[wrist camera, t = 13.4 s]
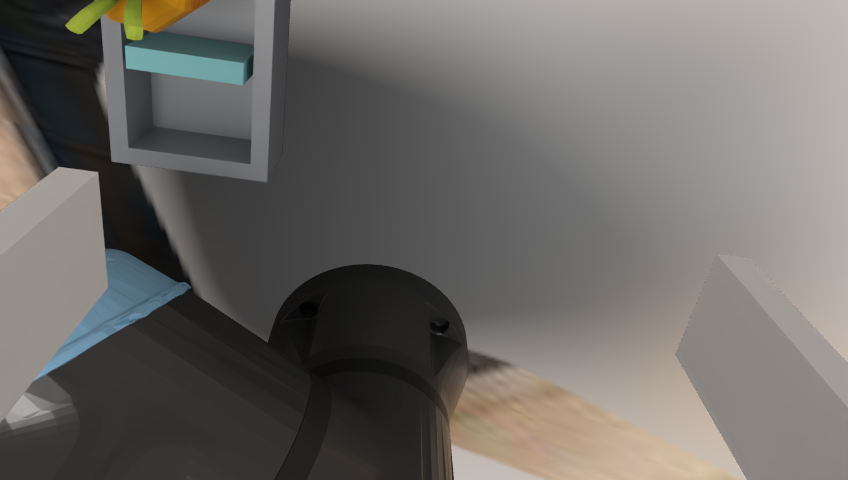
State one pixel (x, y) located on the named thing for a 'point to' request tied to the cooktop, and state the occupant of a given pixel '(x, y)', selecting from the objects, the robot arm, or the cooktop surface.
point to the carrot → (135, 14)
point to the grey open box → (203, 97)
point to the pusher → (191, 57)
